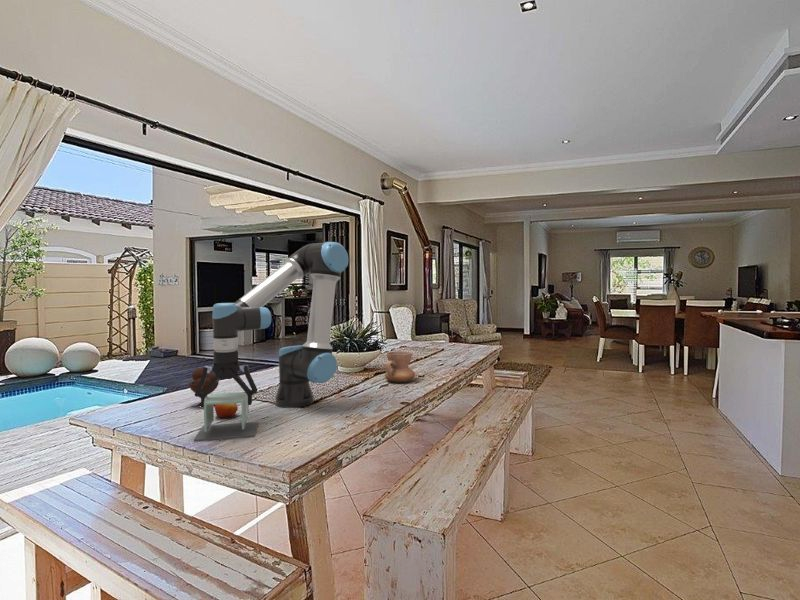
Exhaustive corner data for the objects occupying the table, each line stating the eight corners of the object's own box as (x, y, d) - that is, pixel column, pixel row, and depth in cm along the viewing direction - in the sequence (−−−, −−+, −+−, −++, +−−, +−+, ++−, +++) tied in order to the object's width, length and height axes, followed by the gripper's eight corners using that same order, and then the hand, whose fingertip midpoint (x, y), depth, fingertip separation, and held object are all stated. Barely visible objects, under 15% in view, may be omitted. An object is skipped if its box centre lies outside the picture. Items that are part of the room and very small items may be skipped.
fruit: (213, 410, 174) (224, 391, 174) (232, 420, 175) (243, 402, 175) (206, 416, 166) (217, 397, 166) (226, 427, 167) (237, 408, 167)
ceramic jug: (400, 376, 238) (399, 348, 237) (422, 379, 229) (421, 351, 228) (375, 383, 225) (374, 353, 224) (398, 387, 215) (397, 356, 214)
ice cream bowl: (209, 409, 180) (208, 371, 179) (183, 408, 182) (182, 369, 181) (224, 402, 190) (224, 365, 189) (200, 401, 192) (199, 364, 191)
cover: (248, 418, 160) (247, 391, 160) (244, 429, 149) (243, 400, 148) (211, 420, 158) (211, 393, 158) (204, 431, 146) (203, 403, 146)
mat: (258, 423, 162) (258, 421, 162) (254, 437, 149) (254, 435, 149) (202, 427, 159) (202, 425, 158) (193, 441, 145) (193, 439, 145)
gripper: (183, 353, 146) (185, 421, 147) (263, 350, 151) (264, 417, 152) (188, 349, 153) (190, 415, 154) (265, 347, 158) (266, 410, 159)
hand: (227, 416), depth 153 cm, fingers closed on cover, 12 cm apart
